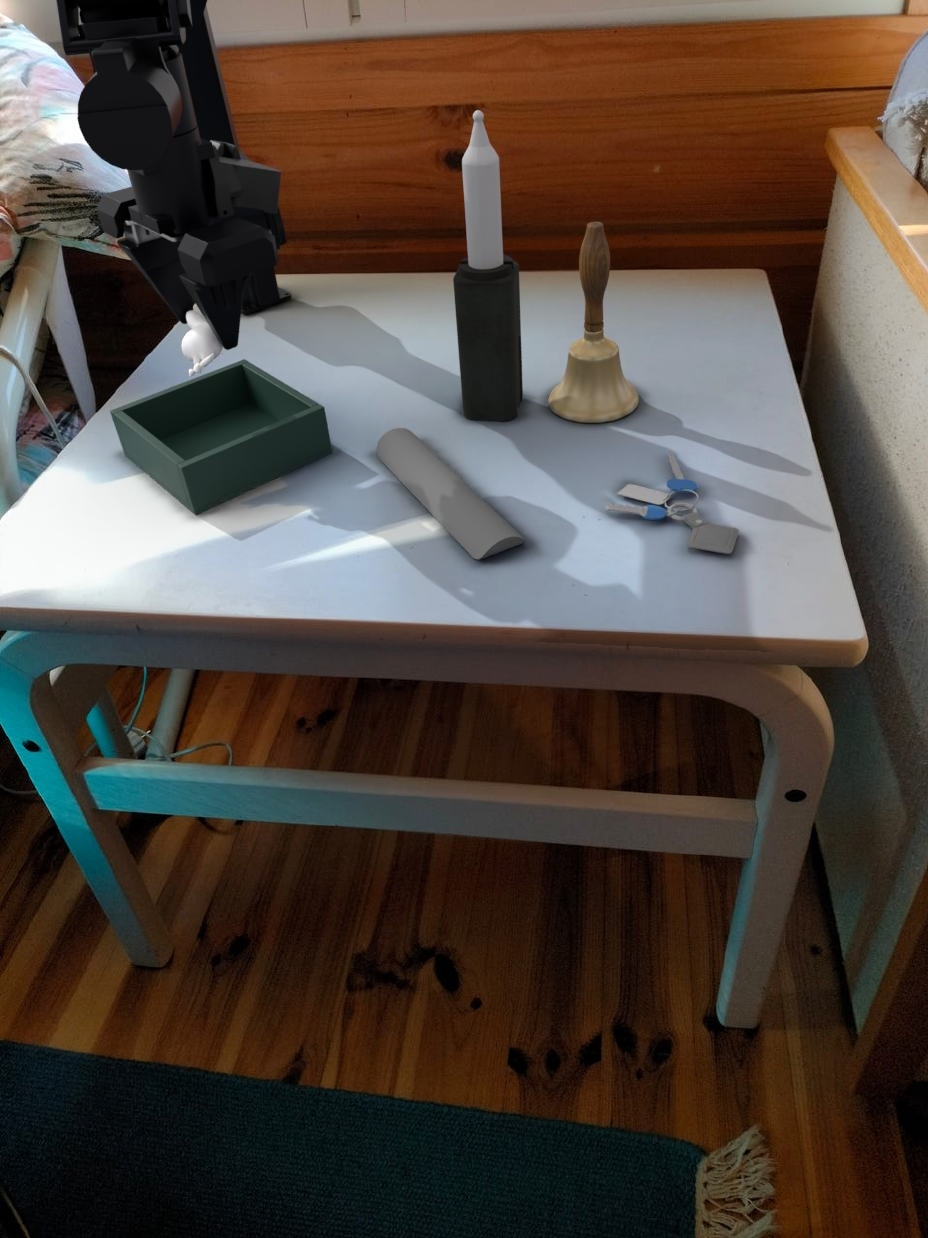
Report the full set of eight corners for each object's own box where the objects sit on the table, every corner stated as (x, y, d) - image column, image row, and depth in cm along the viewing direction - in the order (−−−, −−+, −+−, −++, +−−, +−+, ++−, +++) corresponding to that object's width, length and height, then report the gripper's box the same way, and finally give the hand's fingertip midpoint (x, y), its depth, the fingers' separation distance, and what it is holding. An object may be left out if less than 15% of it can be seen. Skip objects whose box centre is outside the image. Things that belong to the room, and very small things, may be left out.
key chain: (753, 552, 70) (754, 543, 69) (647, 576, 69) (648, 566, 68) (672, 458, 80) (673, 449, 80) (579, 477, 79) (579, 468, 78)
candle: (516, 421, 87) (505, 118, 71) (461, 419, 88) (437, 119, 72) (524, 394, 91) (516, 100, 74) (471, 393, 92) (452, 102, 75)
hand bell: (533, 414, 88) (529, 236, 77) (569, 374, 93) (570, 203, 83) (619, 430, 84) (627, 247, 74) (651, 389, 90) (663, 212, 80)
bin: (124, 455, 87) (109, 410, 84) (254, 402, 93) (244, 358, 90) (195, 515, 79) (181, 467, 76) (332, 452, 85) (324, 406, 82)
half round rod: (481, 567, 71) (479, 548, 70) (373, 453, 84) (370, 435, 83) (530, 548, 72) (530, 529, 71) (416, 439, 86) (414, 421, 84)
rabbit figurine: (161, 378, 78) (173, 299, 81) (202, 400, 81) (212, 323, 84) (205, 348, 74) (216, 267, 77) (246, 372, 77) (255, 293, 80)
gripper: (321, 125, 68) (352, 335, 78) (195, 90, 79) (237, 278, 89) (179, 163, 63) (232, 383, 73) (67, 120, 74) (126, 315, 84)
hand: (209, 334), depth 80 cm, fingers closed on rabbit figurine, 7 cm apart
